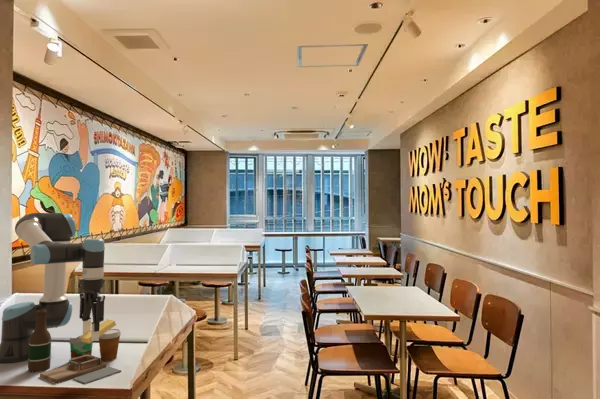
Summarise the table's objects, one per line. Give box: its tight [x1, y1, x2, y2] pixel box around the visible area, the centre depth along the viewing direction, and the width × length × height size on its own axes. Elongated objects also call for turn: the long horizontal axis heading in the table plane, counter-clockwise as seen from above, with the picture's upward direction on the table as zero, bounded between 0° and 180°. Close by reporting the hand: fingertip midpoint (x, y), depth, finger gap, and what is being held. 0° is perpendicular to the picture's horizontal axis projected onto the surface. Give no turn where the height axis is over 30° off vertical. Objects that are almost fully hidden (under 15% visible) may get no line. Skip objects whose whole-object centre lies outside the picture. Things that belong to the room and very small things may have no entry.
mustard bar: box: [80, 318, 117, 343], centre depth 159 cm, size 5×12×7 cm, turn 148°
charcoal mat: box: [72, 366, 122, 385], centre depth 158 cm, size 8×15×1 cm, turn 148°
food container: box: [68, 334, 94, 359], centre depth 179 cm, size 12×6×10 cm, turn 168°
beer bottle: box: [27, 310, 52, 373], centre depth 165 cm, size 8×8×24 cm
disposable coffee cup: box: [98, 328, 122, 362], centre depth 178 cm, size 10×10×12 cm
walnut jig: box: [39, 354, 107, 384], centre depth 161 cm, size 12×20×4 cm, turn 148°
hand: (90, 338), depth 156 cm, fingers closed on mustard bar, 5 cm apart
